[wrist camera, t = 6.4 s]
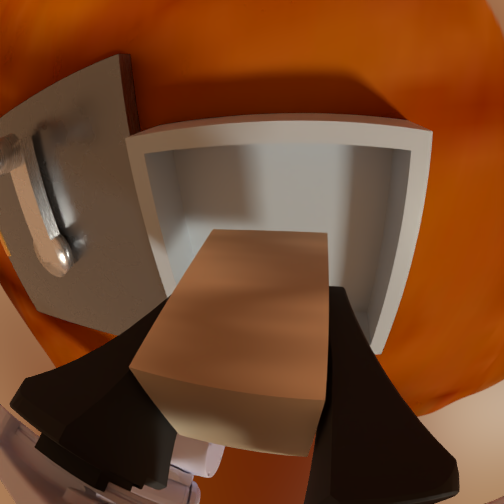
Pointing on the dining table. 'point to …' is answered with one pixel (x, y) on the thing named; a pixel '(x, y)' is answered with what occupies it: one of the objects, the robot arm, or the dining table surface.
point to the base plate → (85, 200)
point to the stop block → (244, 342)
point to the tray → (291, 194)
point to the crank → (35, 203)
